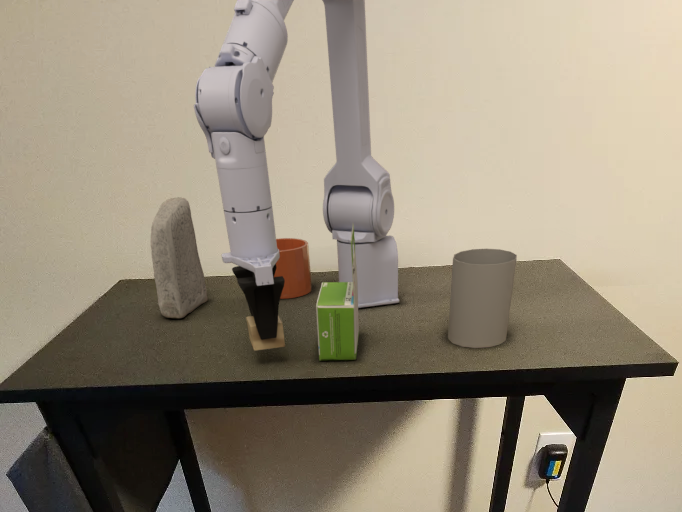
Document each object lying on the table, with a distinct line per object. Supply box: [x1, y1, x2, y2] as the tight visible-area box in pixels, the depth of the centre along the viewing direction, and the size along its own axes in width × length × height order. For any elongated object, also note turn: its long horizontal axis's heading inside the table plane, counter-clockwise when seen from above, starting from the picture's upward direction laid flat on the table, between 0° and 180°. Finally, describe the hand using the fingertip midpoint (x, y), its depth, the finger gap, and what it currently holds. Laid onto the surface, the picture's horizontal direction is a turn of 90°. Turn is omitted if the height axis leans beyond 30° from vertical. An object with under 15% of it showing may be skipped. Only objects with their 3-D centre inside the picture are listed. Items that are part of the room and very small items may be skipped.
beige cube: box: [245, 315, 286, 352], centre depth 79 cm, size 4×4×3 cm
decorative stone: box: [150, 196, 209, 319], centre depth 94 cm, size 11×6×15 cm, turn 168°
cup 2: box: [447, 248, 518, 349], centre depth 81 cm, size 8×8×10 cm
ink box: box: [315, 224, 360, 362], centre depth 79 cm, size 10×5×14 cm, turn 178°
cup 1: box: [274, 237, 313, 300], centre depth 102 cm, size 9×9×7 cm
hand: (265, 332), depth 79 cm, fingers closed on beige cube, 4 cm apart
